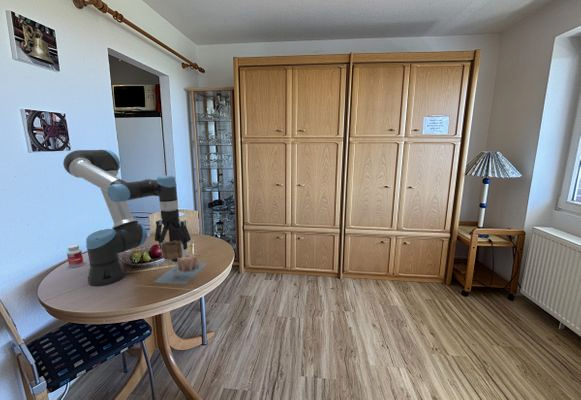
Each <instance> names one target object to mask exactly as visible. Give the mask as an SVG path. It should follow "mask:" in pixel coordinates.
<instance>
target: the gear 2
mask: <svg viewBox="0 0 581 400" xmlns="http://www.w3.org/2000/svg"><path fill="white" fill-rule="evenodd" d="M177 261H178V262H177V264H178V270H182V271H185V270H190V271H191V270H192V269H194V268H197V265H198V254H196V253H195V254H194V253H193V252H190V253H187V255H186V256H184V257H182V258H177Z"/></svg>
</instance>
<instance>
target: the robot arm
mask: <svg viewBox="0 0 581 400" xmlns="http://www.w3.org/2000/svg"><path fill="white" fill-rule="evenodd" d="M63 168H64V169H65V171H66V172H67V173H68V174H69V175H70V176H73V177H75V178H79V179H83V180H85V181H87V182H89V183H91V184H92V185H94V186H96V187H98V188H99V189H100V191H101V193H102V196H103V198H104V201H105V203H106V206H107V209H108V211H109V214H110V216H111V219H112V221H113V226H112V227H111V228H104V229H100V230H97V231H94V232H92V233H90V234H89V235H87V237H86V242H85V243H86V246H85V247H86V250H87V255H88V261H89V272H88V276H87V284H88V285H89V286H94V287H97V286H98V287H99V286H106V285H109V284H110V285H111V284H113V283H116V282H118V281H120V280H121V279H123V278H124V277H125V276H126V270H125V268H124V267H123V263H121V261H120V256H119V254H122V253H125V252H127V251H129V250H133V249H136V248H139V247H140V246H143V245H144V244H145V243H146V242H147V239H148V231H147V228H146V226H145V225H144V224H143V223H139V222H138V220H137V219H135V218H134V217H133V216H132V213H131V210H130V207H129V205H128V203H127V201H131V200H137V199H143V198H147V197H158V200H159V207H160V208H159V209H160V210H161V211H160V217H161V219H158V220H157V221H155V226H156V227H155V235H154V241H155V242H158V244H159V245H158V246H159V249H160V250H161V252H162V246H161V245H162V244H165V243H166V242H167V241H166V240H165V238H166V236H167V233H168V232H169V231H168V229H172V230H174V231H175V232H176V233H177V235H178V236H179V238H180V240H181V241H182V243H181V250H182V257H184V256H186V255H187V254H188V252H187V249H188V242H191V236H190V233H189V230H188V227H187V221H186V220H181V219H180V218H179V217H180V213H179V202H178V201H179V200H178V191H177V183H176V182H177V181H176V177H175V176H174V175H158V176H157V177H156V179H150V178H145V179H141V180H138V181H129V182H128V181H125V180H123V179H121V178H119V177H118V176H117V175H118V174H119V170H120V168H121V161H120V158H119V156H118V155H117V154H116V153H115V152H114V151H112V150H110V149H109V150H108V149H77V150H73V151H70V152H68V154H66V156H65V157H64V159H63ZM179 224H180V226H181V229H182V231H181V229H180V226H179ZM162 227H163V228H162ZM176 228H177V229H176ZM161 257H163V255H162V254H161Z"/></svg>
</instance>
